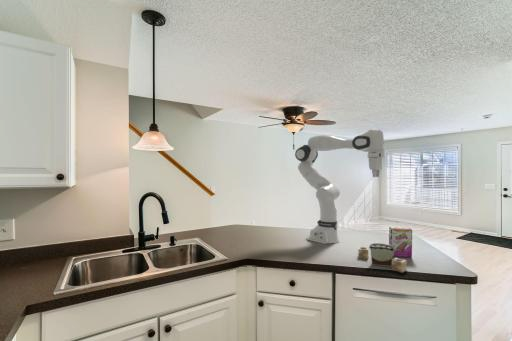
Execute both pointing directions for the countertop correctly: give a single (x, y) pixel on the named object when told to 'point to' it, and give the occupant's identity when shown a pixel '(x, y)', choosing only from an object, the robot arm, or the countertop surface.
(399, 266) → the labelled block
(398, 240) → the candy bar box
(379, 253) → the food container
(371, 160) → the robot arm
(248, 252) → the countertop surface
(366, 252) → the labelled block
